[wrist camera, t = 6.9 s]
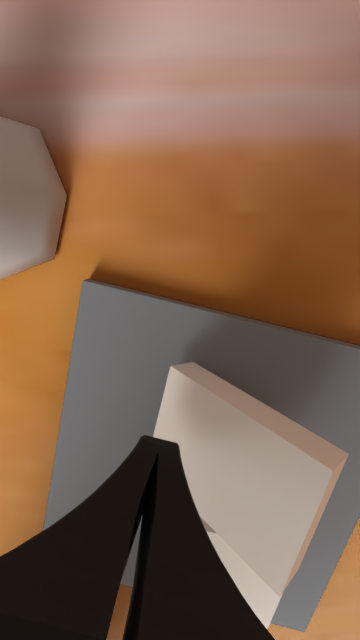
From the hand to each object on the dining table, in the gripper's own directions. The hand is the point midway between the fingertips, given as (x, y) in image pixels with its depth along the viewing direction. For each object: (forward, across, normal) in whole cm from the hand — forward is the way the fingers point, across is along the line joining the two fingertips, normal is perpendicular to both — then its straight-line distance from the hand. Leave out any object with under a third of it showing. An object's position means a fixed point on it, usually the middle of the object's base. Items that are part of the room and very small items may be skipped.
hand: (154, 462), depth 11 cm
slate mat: (+5, -3, +4) cm, 7 cm away
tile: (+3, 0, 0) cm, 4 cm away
